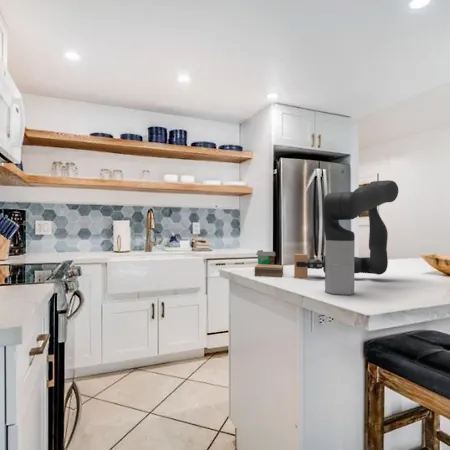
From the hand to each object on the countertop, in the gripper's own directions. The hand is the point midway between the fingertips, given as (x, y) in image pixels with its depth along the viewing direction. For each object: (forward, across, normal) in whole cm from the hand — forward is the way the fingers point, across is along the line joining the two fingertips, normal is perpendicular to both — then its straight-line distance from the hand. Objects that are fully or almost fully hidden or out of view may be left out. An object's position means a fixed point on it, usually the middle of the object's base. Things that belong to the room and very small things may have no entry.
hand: (296, 263), depth 145 cm
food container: (+16, -17, +6) cm, 24 cm away
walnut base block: (+12, -4, +6) cm, 14 cm away
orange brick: (-2, 0, +6) cm, 6 cm away
